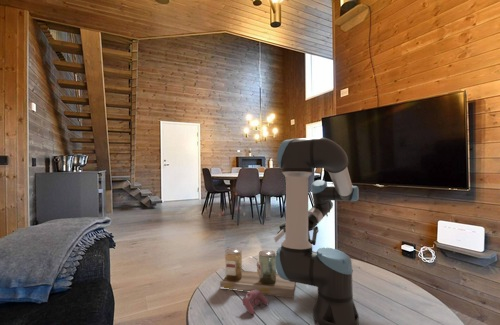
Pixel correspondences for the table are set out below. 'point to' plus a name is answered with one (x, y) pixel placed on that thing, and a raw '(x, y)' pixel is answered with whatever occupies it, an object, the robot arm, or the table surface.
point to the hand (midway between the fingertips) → (286, 245)
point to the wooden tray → (261, 285)
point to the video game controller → (253, 295)
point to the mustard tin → (233, 264)
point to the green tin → (266, 267)
